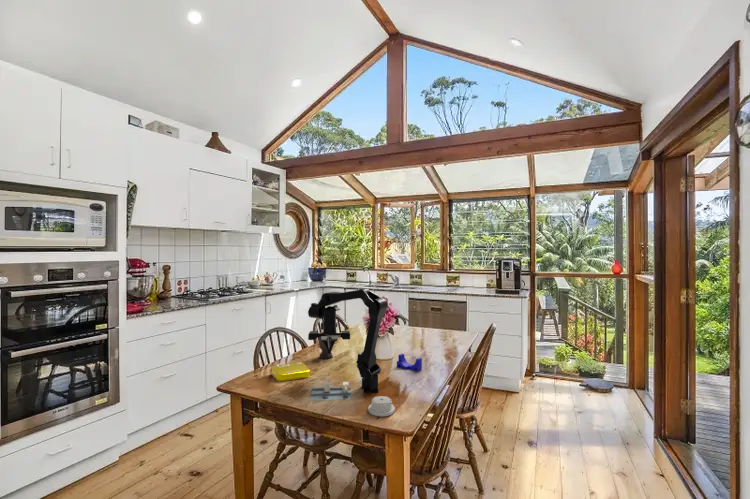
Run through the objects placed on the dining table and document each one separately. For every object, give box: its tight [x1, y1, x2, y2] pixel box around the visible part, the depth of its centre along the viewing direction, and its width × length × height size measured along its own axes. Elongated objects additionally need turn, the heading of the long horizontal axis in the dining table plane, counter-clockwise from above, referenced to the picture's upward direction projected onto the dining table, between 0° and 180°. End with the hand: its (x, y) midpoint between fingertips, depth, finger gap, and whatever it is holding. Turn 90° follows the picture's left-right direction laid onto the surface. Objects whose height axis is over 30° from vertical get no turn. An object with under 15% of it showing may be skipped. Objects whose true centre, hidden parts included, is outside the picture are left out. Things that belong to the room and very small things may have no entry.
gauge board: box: [309, 381, 352, 401], centre depth 154 cm, size 16×12×4 cm
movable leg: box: [323, 381, 332, 393], centre depth 154 cm, size 2×8×4 cm, turn 4°
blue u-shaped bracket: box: [396, 353, 423, 372], centre depth 189 cm, size 12×4×6 cm, turn 51°
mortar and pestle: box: [317, 322, 339, 360], centre depth 206 cm, size 12×9×20 cm
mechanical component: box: [367, 395, 396, 417], centre depth 141 cm, size 10×4×10 cm
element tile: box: [271, 361, 311, 382], centre depth 177 cm, size 15×15×5 cm
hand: (329, 354), depth 172 cm, fingers closed
